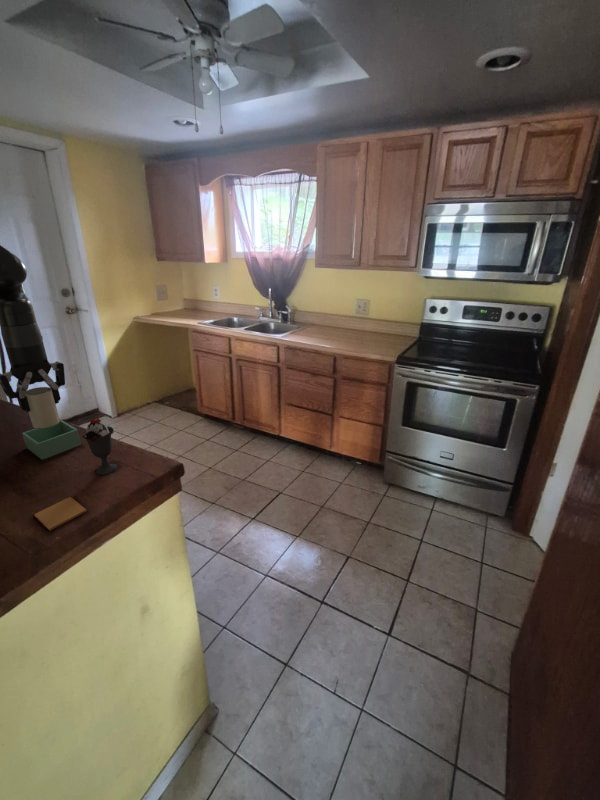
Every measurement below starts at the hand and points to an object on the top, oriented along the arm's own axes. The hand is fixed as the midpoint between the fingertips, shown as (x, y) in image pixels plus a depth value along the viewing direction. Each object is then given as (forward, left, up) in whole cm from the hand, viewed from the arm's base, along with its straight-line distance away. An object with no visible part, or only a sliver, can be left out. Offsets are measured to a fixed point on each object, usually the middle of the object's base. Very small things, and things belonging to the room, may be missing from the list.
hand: (41, 406), depth 94 cm
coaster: (-11, -29, -12) cm, 33 cm away
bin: (0, 0, -12) cm, 12 cm away
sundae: (+3, -21, -12) cm, 24 cm away
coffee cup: (0, 0, -5) cm, 5 cm away
